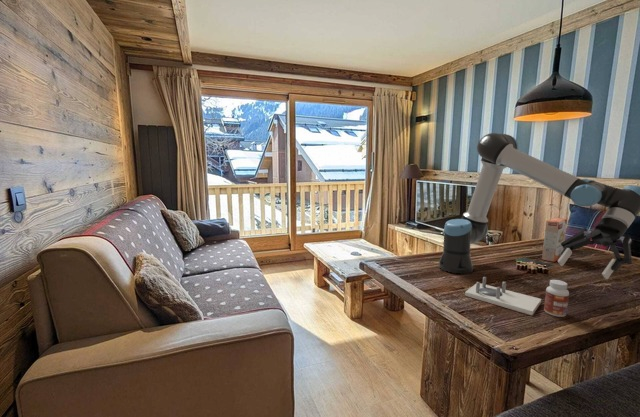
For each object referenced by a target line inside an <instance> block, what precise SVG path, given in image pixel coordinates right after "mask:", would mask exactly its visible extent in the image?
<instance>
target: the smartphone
mask: <svg viewBox="0 0 640 417" xmlns="http://www.w3.org/2000/svg"><path fill="white" fill-rule="evenodd" d="M515 261H516V262H520V261H522V262H521V263H523V262H533V263H536V264H541V265H546V266H547V267H548V269H550V268H554V267H555V265H554V264H552V263H547V262H543V261H539V260H536V259H531V258H528V257H518V258H516V259H515Z"/></svg>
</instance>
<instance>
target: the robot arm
mask: <svg viewBox="0 0 640 417" xmlns="http://www.w3.org/2000/svg"><path fill="white" fill-rule="evenodd" d="M476 149H477V153H478V155H479V156H480V157H481V159H480V162H481V163H482V168H481V170H480V173H479V176H478V179H477V183H476V185H475V188H474V190H473V195H472V197H471V199H470V203H469V206H468V209H467V211H465V212H463V214H462V215H461V218H455V219H453V218H452V219H449V220H447V221H446V222H445V224H444V228H443V248H442V249H443V251H442V254H441V256H440V259H439V261H438V268H439V269H440V268H441V269H440V270H442V271H444V272H446V271H448V273H450V272H452V273H451V274H456V273H460V275H462V274H463V275H464V274H465V275H466V274H470V273H472V272H473V271H474V265H473V261H472V258H471V255H470V253H471V245H472V244H474V243H477V242H480V241H481V240H483V239H484V238H486V236H487V233H488V231H489V230H488V229H489V228H488V226H487V225H488V222H489V218H488V217H487V215H488V212H489V210H490V206H491V204H492V202H493V201H492V200H493V198H494V195H495V193H496V190H497V187H498V185H499V182H500V179H501V176H502V174H503V171H504V170H505V169H506V168H508V169H511V170H512V171H515V172H516V173H518V174H520V175H522V176H525V177H526V178H528V179H530V180H532V181H535V182H536V183H538V184H540V185H542V186H545V187H546V188H548V189H551V190H552V191H554V192H557V193H558V194H560V195H562V196H563V197H565V198H567V199H569V200H571V201H572V202H573V204H575V205H576V206H579V207H592V206H594V205H600V206H603V207H606V208H608V209H607V210H606V211H605V213H604V214H603V215H602V217H601V219H600V220H599V221H598V223H597V224H596V225H595V227H594V229H593V230H588V228H586V227H584V228H582V229H580V231H579V232H577V233H575V234H574V235H572V236H571V237H569V238H567V239H565V240H564V241H563V242H562V243H561V245H562V247H563V251H562V252H561V254H560V255H561V257H560V258H559V259H558V260H557V263H558V265H560V267H563V266H564V265H565V264H566V262H567V261H568V259H569V258H570V257H571V255H572V254H573V252H572V251H576V250H577V249H580V248H583V247H586V246H588V245H599V246H600V245H601V246H603V247H608V246H609V247H610V249H611V251H612V253H613V255H614V257H615V258H612V259H611V260H610V261H609V263H608V264H607V265H606V267H605V268H604V270H603V271H602V273H601V275H602V277H603V279H605V280H608V279H609V278H610V277H611V275H612V274H613V272H617V271H618V270H619V269H620V268H621V266H622V265H623V264H627V265H632V264H633V260H632V251H631V250H632V249H631V245H632V243H633V240H632V239H631V237H630V235H625V233H626V232H627V230H628V229H629V228H630V226H631V225H632V223H633V222H634V220H636V218H637V216H638V215H639V213H640V186H639V185H626V186H624V187H623V188H618V187H614V186H613V185H608V184H605V183H602V182H599V181H596V180H593V179H592V180H591V179H588V178H583V179H582V178H579V177H578V176H575V175H573V174H571V173H568V172H566V171H564V170H563V169H560V168H557V167H556V166H553V165H552V164H549V163H547V162H545V161H543V160H541V159H538V158H536V157H535V156H532V155H529V154H528V153H525V152H523V151H521V150H519V143H518V141H517V140H516V138H515V137H514V136H512V135H509V134H507V133H497V132H491V133H486V134H485V135H483V136H482V137H481V138H480V139H479V140H478V142H477V146H476ZM624 235H625V236H624ZM619 242H621V243H622V246H623V257H622V256H621V254H620V252H619V250H618V248H617V246H616V243H619Z"/></svg>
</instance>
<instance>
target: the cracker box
mask: <svg viewBox="0 0 640 417" xmlns="http://www.w3.org/2000/svg"><path fill="white" fill-rule="evenodd" d="M567 224H568V219H567V218H562V217H553V218H550V219H548V220H545V228H544V236H543V237H544V238H543V248H542V255H541V256H542V257H541V260H542V261H547V262H552V263H556V261H557V262H558V260H559V258H560V257H561V255H560V254H561V252H562V251H563V249H564V248H563V247H562V245H561V243H562V242H563V241H565V240H566V231H567Z"/></svg>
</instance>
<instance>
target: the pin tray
mask: <svg viewBox="0 0 640 417" xmlns="http://www.w3.org/2000/svg"><path fill="white" fill-rule="evenodd" d="M506 288H507V282H506V281H502V284H501V287H500V286H497V287H496V286H493V285H489V284H487V277H486V276H483V277H482V283H481V282H480V281H476V283H475V284H474V285H472V286H471V287H469V288H468V289H466V291H464V296H466V297H468V298H473V299H476V300H478V301H482V302H484V303H489V304H492V305H496V306H499V307H502V308H506V309H509V310H512V311H515V312H519V313H522V314H525V315H528V316H529V315H530V316H533V315H534V314H535V313H536V312H537V310H538V308H539V306H540V305H541V304H542V298H539V297H536V296H531V295H528V294H524V293H520V292H515V291H511V290H508V289H506Z"/></svg>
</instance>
